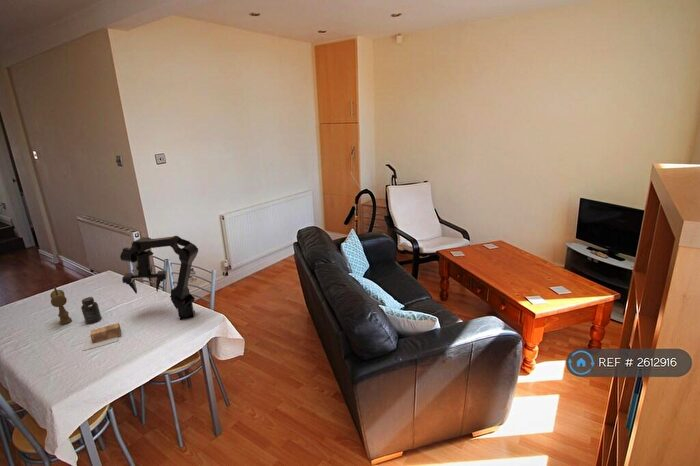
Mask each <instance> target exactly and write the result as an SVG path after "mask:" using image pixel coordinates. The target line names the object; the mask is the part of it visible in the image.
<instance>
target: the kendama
mask: <svg viewBox="0 0 700 466" xmlns="http://www.w3.org/2000/svg"><path fill="white" fill-rule="evenodd" d="M67 301H68V299H67V297H66V296H65V292H64V290H62V289H57V287H56V286H53V291H51V293H50V304H51V306H52V307H54V308H58V315H57V317H59V324H60V325H66V324H69V323H71V322H72V321H73V320H72V318H71V317H70V315H69V313H70V312H69V311H67V310H66V308H65V305H66V304H67Z"/></svg>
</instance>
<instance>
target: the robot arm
mask: <svg viewBox="0 0 700 466" xmlns="http://www.w3.org/2000/svg"><path fill="white" fill-rule="evenodd" d="M180 246H182V248H181V247H180ZM163 247H170V248H172V250H173V252H174V253H175V255H176V254H177V256H178V258H179V261H180V267H179V273H178V277H177V284H176V286H175V287H173V288H172V289H171V291H170V296H169V298H170V301H171V302H172V304H173V306H174V308H175V309H176V310H177V313H178V314H177V315H178V318H179V320H180V321H181V320H188V319H193V318H194V317H195V313H196V312H195V308H194V304H193V303H194V302H195V299H196V298H195V296H194V295H192V294H191V293H190V288H189V287H188V286H189V281H190V275H191V270H192V265H193V262H194V261H195V259H196V257H197V255H198V253H199V247H197V246H196V245H195V244H194V243H192V242H191V241H190V240H186V239H183V238H181V237H180V236H178V235H173V236H166V237H157V238H151V237H147V236H146V237H145V236H143V237H141V238H138V239H136V240H134V241H132V243H131V247H123V248H122V251H121V253H120V256H119V257H120V260H121V261H122V262H129V263H136V267H135V268H136V271H137V274H134V273H133V272H128V273H124V274H123V276H122V280H121V281H122V283H123V284H125V285H128V286H129V287H130V288H131V289H132V290H133V292H134V293H135V294H138V288H137V285H136V280H140V279H141V280H142V279H152V278H153V279H154V278H156V281H155V282H156V283H155V284H156V285H155V287H156V290H155V291H156V292H157V293H158V290H159V288H160V284H161V282H163V281H165V280H167V277H168V275H167V273H168V272H167V271H166V270H159V271H158V270H157V273H153V265H152V263H151V256H153V255H154V252H153V251H151V250H150V249H157V248H163Z"/></svg>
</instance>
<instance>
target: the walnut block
mask: <svg viewBox="0 0 700 466" xmlns="http://www.w3.org/2000/svg"><path fill="white" fill-rule="evenodd" d="M121 328H122V327H121V325H120V322H117V323H113V324H108V325H106V326H102V327H97V328H93V329H91V330H90V335H89V336H90V337H91V340H92V342H93V343H97V342H100V341H104V340H107V339H111V338H115V337H118V338H119V337H121V336H122V329H121Z"/></svg>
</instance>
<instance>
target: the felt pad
mask: <svg viewBox="0 0 700 466" xmlns="http://www.w3.org/2000/svg"><path fill="white" fill-rule="evenodd" d="M117 342H119V336H118V337H115V338H111V339H107V340H104V341H100V342H97V343H93V342H92V340H91V337H90V335H88V336H85V339H84V344H83V345H84V346H83V350H82V351H83V352H85V351H88V350H89V351H90V350H92V349H96V348H99V347H103V346H105V345H106V346H107V345H110V344H114V343H117Z"/></svg>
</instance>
